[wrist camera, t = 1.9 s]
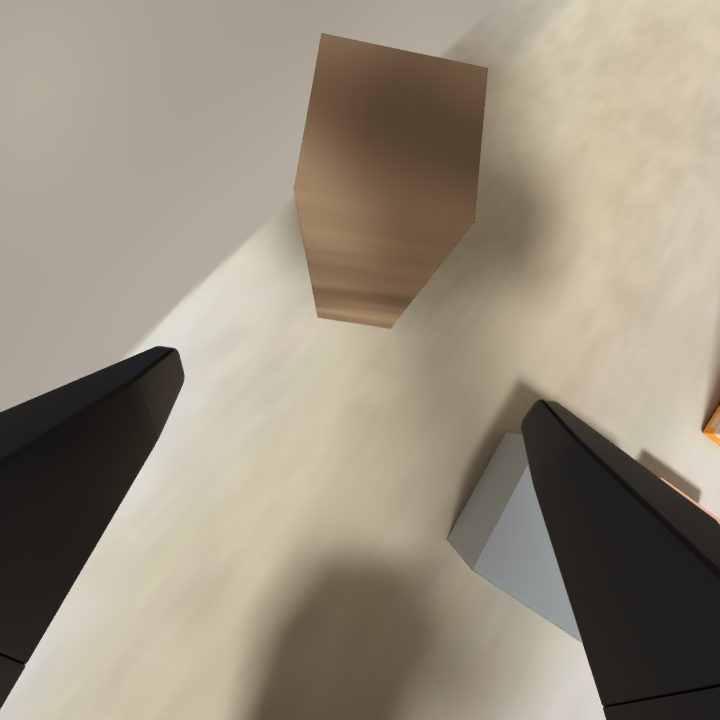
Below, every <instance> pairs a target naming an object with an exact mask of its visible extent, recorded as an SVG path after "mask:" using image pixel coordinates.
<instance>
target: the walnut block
mask: <svg viewBox="0 0 720 720" xmlns="http://www.w3.org/2000/svg"><path fill="white" fill-rule="evenodd" d="M487 72H488V68H485V67H480V66H476V65H471V64H466V63H461V62H457V61H452V60H447V59H442V58H438V57H432V56H428V55H423V54H419V53H413V52H409V51H404V50H400V49H395V48H390V47H385V46H380V45H376V44H371V43H366V42H362V41H357V40H352V39H347V38H342V37H338V36H333V35H328V34H323V33H322V34H321V39H320V45H319V51H318V56H317V62H316V68H315V73H314V79H313V84H312V90H311V96H310V101H309V107H308V112H307V118H306V124H305V130H304V135H303V141H302V146H301V152H300V157H299V163H298V169H297V174H296V180H295V185H294V194H295V199H296V204H297V210H298V215H299V220H300V226H301V231H302V236H303V242H304V247H305V252H306V258H307V263H308V268H309V274H310V279H311V284H312V290H313V295H314V300H315V306H316V311H317V316H318V318H324V319H331V320H337V321H344V322H351V323H357V324H364V325H370V326H377V327H384V328H391V327H392V326H393V324H394V323H395V322H396V321H397V319H398V318H399V317H400V316H401V314H402V313H403V312H404V310H405V309H406V308H407V307H408V305H409V304H410V303H411V302H412V300H413V299H414V298H415V296H416V295H417V294H418V293H419V291H420V290H421V289H422V288H423V286H424V285H425V284H426V282H427V281H428V280H429V279H430V277H431V276H432V275H433V274H434V272H435V271H436V270H437V268H438V267H439V266H440V265H441V263H442V262H443V261H444V260H445V258H446V257H447V256H448V254H449V253H450V252H451V251H452V249H453V248H454V247H455V246H456V244H457V243H458V242H459V240H460V239H461V238H462V237H463V235H464V234H465V233H466V232H467V230H468V229H469V228H470V226H471V225H472V224H473V223H474V219H475V208H476V196H477V185H478V174H479V162H480V151H481V140H482V128H483V117H484V106H485V94H486V83H487Z"/></svg>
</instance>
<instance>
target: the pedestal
mask: <svg viewBox="0 0 720 720" xmlns="http://www.w3.org/2000/svg"><path fill="white" fill-rule="evenodd" d="M447 540H448V542H449V543H450V544H451V545H452V546H453V548H454V549H455V550H456V551H457V552H458V554H459V555H460V556H461V557H462V559H463V560H464V561H465V562H466V563H467V565H468V566H469V567H470V568H471V569H472V571H474V572H475V573H477V574H479V575H480V576H482V577H483V578H485V579H486V580H488V581H489V582H491V583H492V584H494V585H495V586H497V587H498V588H500V589H501V590H503V591H504V592H506V593H507V594H509V595H510V596H512V597H513V598H515V599H516V600H518V601H519V602H521V603H522V604H524V605H525V606H527V607H529V608H530V609H532V610H533V611H535V612H536V613H538V614H539V615H541V616H542V617H544V618H545V619H547V620H548V621H550V622H551V623H553V624H554V625H556V626H557V627H559V628H560V629H562V630H563V631H565V632H566V633H568V634H569V635H571V636H572V637H574V638H575V639H577V640H578V641H580V642H582V640H581V636H580V633H579V630H578V627H577V624H576V621H575V617H574V614H573V611H572V608H571V605H570V601H569V598H568V595H567V592H566V589H565V586H564V582H563V579H562V576H561V573H560V570H559V566H558V563H557V560H556V557H555V554H554V551H553V547H552V544H551V541H550V538H549V535H548V531H547V528H546V525H545V522H544V519H543V516H542V512H541V509H540V506H539V503H538V500H537V497H536V493H535V490H534V486H533V483H532V479H531V474H530V469H529V464H528V459H527V455H526V450H525V445H524V440H523V435H521V434H515V433H510V432H506V433H505V434H504V436H503V438H502V440H501V442H500V443H499V445H498V447H497V449H496V451H495V453H494V454H493V456H492V458H491V460H490V462H489V463H488V465H487V467H486V469H485V471H484V472H483V474H482V476H481V478H480V480H479V482H478V483H477V485H476V487H475V489H474V491H473V492H472V494H471V496H470V498H469V500H468V502H467V503H466V505H465V507H464V509H463V511H462V512H461V514H460V516H459V518H458V520H457V522H456V523H455V525H454V527H453V529H452V531H451V532H450V534H449V536H448V538H447Z"/></svg>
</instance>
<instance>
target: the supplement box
mask: <svg viewBox="0 0 720 720" xmlns="http://www.w3.org/2000/svg"><path fill="white" fill-rule="evenodd" d="M703 433H704V434H705V435H706V436H707V437H709V438H710V439H712V440H713V441H714V442H716V443H717V444H718V445H720V405H719V407H718V408H717V410H716V411H715V413H714V415H713V416H712V418H711V419H710V421H709V423H708V424H707V426H706V428H705V429H704V431H703Z"/></svg>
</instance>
